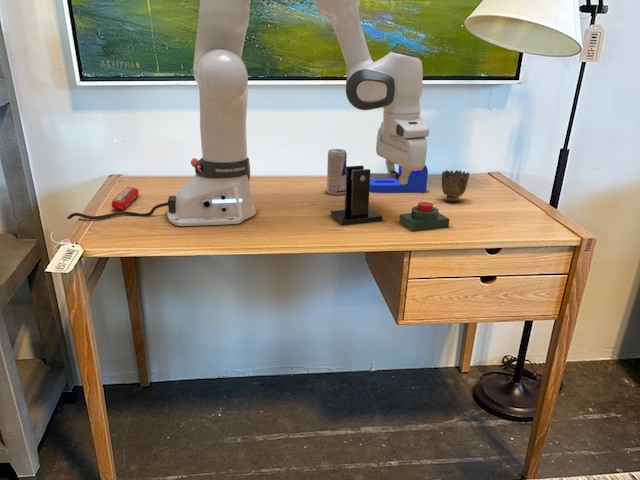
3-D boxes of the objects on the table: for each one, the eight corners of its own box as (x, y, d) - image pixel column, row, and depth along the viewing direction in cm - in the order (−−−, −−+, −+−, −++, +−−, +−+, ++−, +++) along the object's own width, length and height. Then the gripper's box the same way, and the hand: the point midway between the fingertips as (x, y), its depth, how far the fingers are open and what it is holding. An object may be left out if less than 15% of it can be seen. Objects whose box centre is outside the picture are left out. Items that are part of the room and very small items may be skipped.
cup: (443, 196, 169) (446, 168, 165) (468, 199, 166) (472, 171, 162) (435, 202, 163) (438, 173, 159) (461, 206, 160) (465, 177, 156)
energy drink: (348, 191, 172) (349, 150, 166) (341, 196, 167) (342, 153, 162) (331, 189, 174) (332, 148, 168) (324, 193, 169) (324, 151, 164)
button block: (412, 231, 141) (413, 215, 139) (399, 222, 147) (400, 207, 145) (448, 227, 144) (450, 211, 142) (434, 218, 150) (435, 203, 148)
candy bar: (124, 212, 151) (122, 201, 150) (110, 212, 151) (108, 200, 150) (141, 195, 166) (139, 184, 164) (128, 195, 166) (126, 184, 164)
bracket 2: (419, 184, 179) (422, 155, 175) (425, 192, 172) (428, 161, 168) (361, 185, 178) (362, 155, 174) (365, 192, 171) (366, 161, 167)
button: (422, 213, 142) (422, 206, 141) (415, 209, 145) (415, 202, 144) (435, 212, 143) (435, 205, 142) (427, 208, 146) (428, 201, 145)
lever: (395, 178, 151) (396, 169, 150) (403, 183, 147) (405, 173, 146) (348, 177, 146) (349, 168, 145) (356, 182, 142) (357, 172, 141)
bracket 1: (369, 212, 154) (371, 163, 148) (382, 221, 148) (385, 170, 142) (330, 215, 151) (331, 166, 145) (341, 225, 144) (343, 173, 138)
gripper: (371, 118, 150) (369, 172, 156) (408, 132, 133) (404, 192, 139) (393, 117, 152) (390, 170, 158) (433, 130, 135) (428, 189, 141)
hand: (397, 180), depth 149 cm, fingers closed on lever, 5 cm apart
